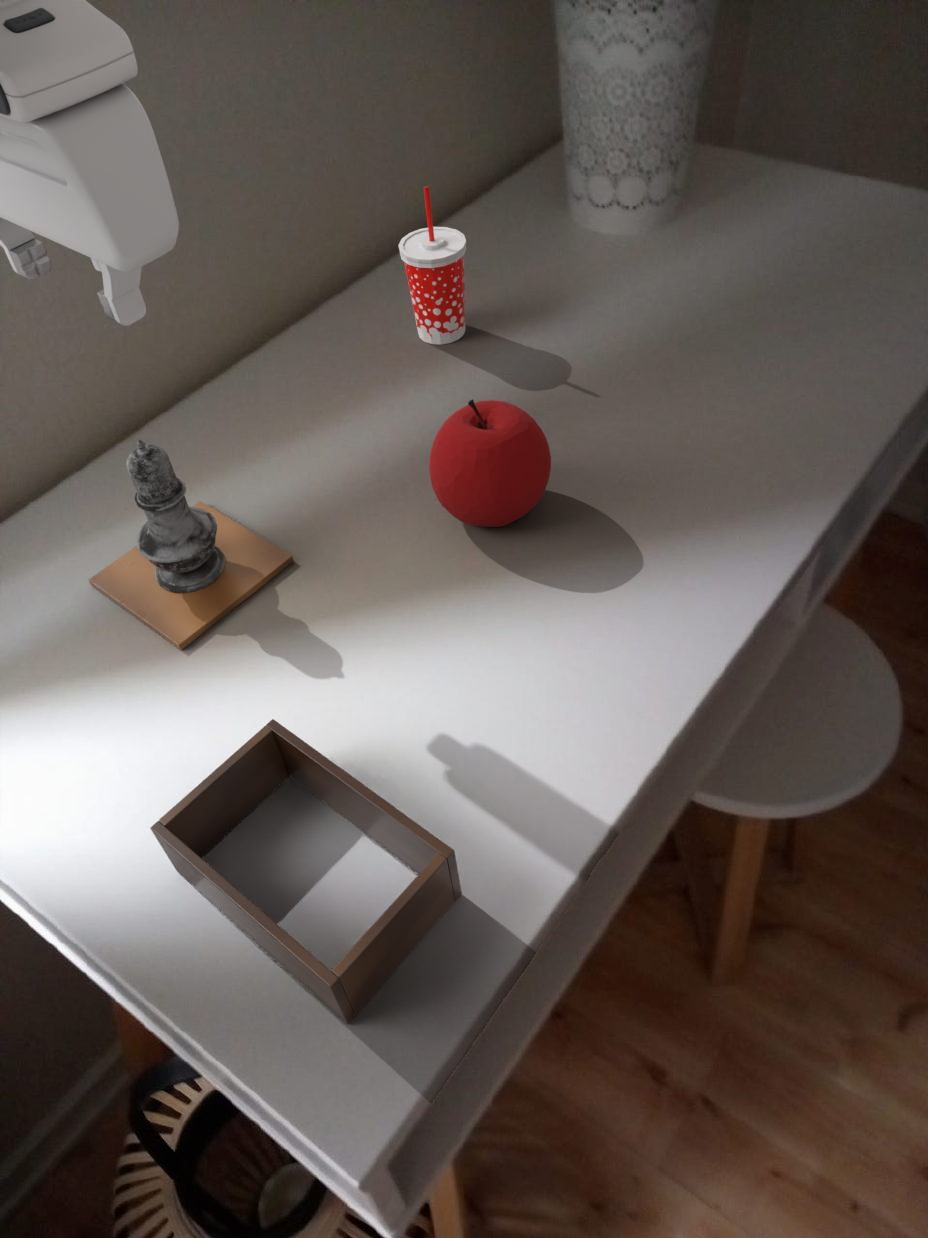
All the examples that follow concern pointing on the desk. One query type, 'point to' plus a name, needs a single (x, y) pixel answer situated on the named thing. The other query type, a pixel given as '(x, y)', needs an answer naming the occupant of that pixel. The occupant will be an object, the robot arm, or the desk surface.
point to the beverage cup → (436, 279)
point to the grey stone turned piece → (172, 525)
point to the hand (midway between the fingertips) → (80, 294)
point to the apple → (489, 463)
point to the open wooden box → (283, 755)
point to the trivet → (201, 609)
